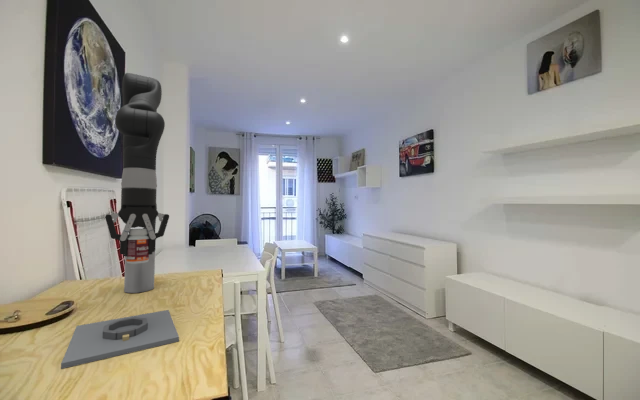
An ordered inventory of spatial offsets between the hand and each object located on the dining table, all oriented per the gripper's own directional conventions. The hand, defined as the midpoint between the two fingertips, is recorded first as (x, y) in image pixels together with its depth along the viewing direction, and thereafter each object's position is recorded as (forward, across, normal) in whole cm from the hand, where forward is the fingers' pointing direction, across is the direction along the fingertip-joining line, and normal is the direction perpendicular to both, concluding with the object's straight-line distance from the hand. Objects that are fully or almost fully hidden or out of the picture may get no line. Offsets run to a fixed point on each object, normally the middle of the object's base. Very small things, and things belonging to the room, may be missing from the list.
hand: (137, 254), depth 71 cm
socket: (+18, +2, +3) cm, 19 cm away
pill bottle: (+2, 0, 0) cm, 2 cm away
